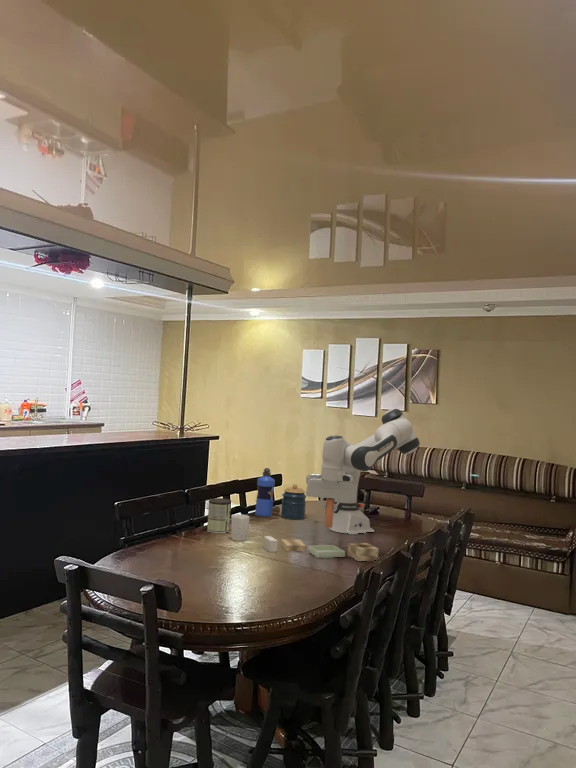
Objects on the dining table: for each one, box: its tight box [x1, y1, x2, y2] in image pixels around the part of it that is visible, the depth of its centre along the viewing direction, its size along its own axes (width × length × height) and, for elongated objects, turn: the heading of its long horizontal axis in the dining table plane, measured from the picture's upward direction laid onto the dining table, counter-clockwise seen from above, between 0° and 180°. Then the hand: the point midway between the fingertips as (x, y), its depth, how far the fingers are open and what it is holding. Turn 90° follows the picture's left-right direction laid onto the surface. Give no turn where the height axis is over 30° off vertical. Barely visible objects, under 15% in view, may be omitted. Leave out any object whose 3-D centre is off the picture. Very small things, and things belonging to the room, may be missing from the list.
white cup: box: [230, 513, 251, 542], centre depth 253 cm, size 8×8×10 cm
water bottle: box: [255, 467, 276, 518], centre depth 311 cm, size 9×9×25 cm
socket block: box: [346, 542, 380, 562], centre depth 235 cm, size 9×9×5 cm
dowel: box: [324, 498, 334, 529], centre depth 237 cm, size 3×3×11 cm
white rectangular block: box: [262, 535, 278, 553], centre depth 239 cm, size 3×8×4 cm, turn 23°
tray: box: [307, 544, 346, 559], centre depth 237 cm, size 12×10×2 cm
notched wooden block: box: [280, 538, 307, 552], centre depth 243 cm, size 8×10×3 cm
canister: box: [280, 484, 307, 521], centre depth 309 cm, size 13×13×18 cm
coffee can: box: [206, 497, 232, 534], centre depth 266 cm, size 10×10×14 cm
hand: (329, 509), depth 237 cm, fingers closed on dowel, 3 cm apart
